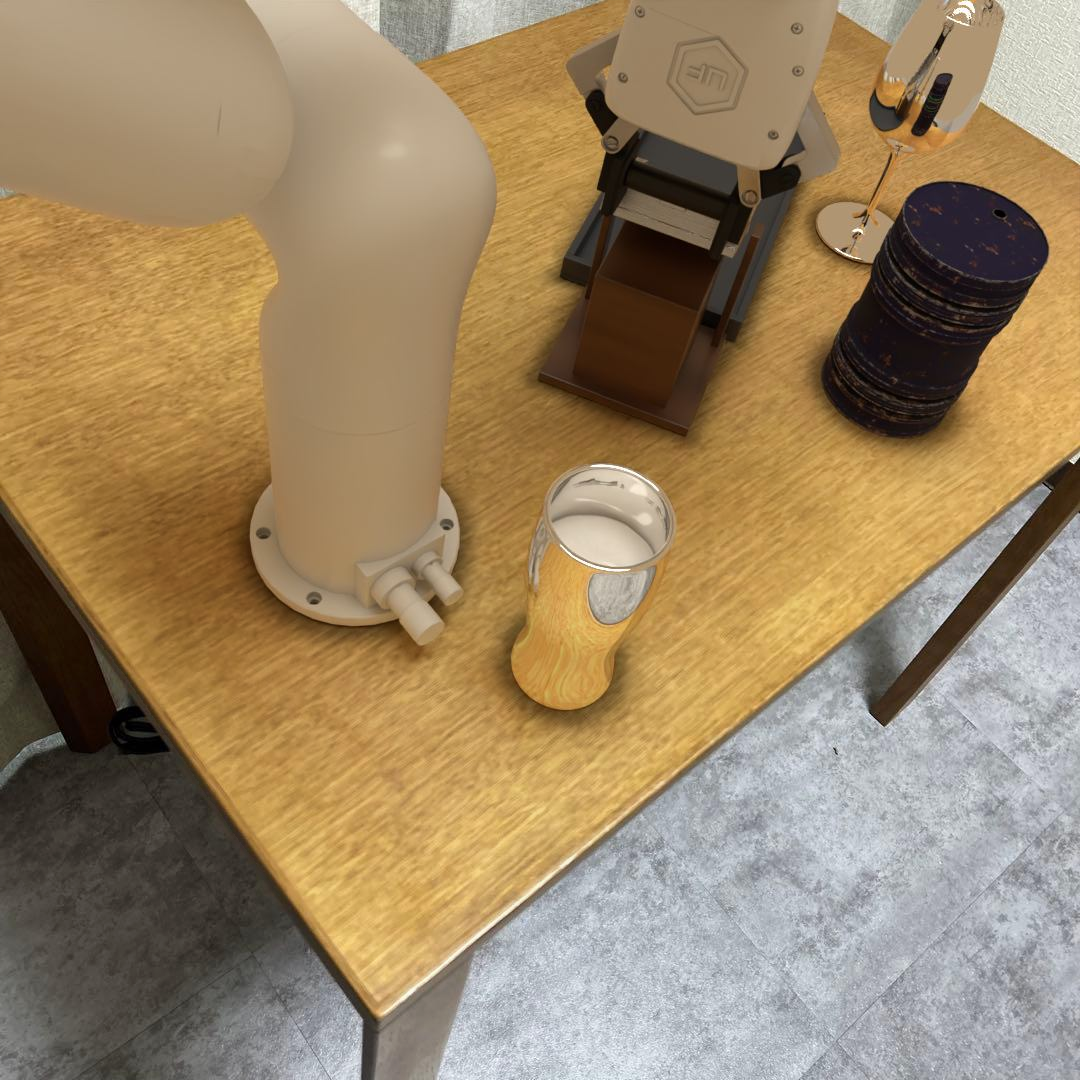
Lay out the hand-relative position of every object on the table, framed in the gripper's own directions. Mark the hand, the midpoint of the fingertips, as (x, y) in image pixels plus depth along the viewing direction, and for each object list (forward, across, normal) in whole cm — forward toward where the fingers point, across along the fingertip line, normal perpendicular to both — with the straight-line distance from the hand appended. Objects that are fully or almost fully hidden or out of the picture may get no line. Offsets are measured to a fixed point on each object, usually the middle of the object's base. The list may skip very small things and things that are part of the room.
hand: (666, 222), depth 65 cm
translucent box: (+3, 0, +5) cm, 6 cm away
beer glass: (+16, +4, -21) cm, 27 cm away
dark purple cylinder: (+15, +18, +12) cm, 26 cm away
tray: (+15, -1, +26) cm, 30 cm away
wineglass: (+15, +12, +28) cm, 34 cm away
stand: (+16, 0, +5) cm, 16 cm away
